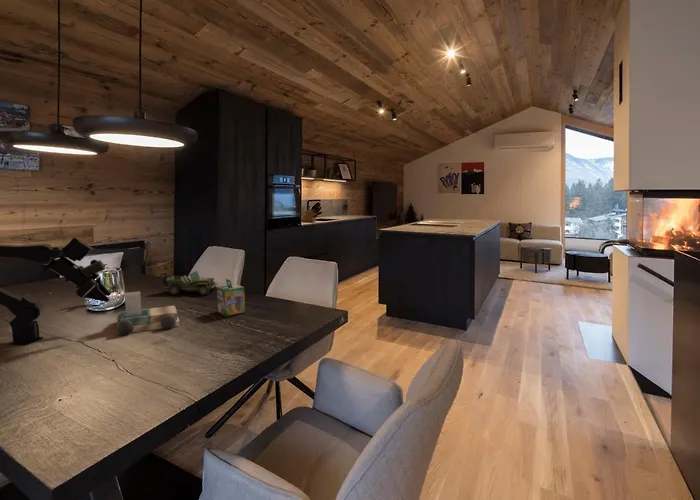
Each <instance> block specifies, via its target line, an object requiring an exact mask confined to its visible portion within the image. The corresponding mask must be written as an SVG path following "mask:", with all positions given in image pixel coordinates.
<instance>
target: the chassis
mask: <svg viewBox="0 0 700 500" xmlns="http://www.w3.org/2000/svg"><path fill="white" fill-rule="evenodd" d="M141 312H142V316H140V317H132V318H126V308H124V309H121V310H120V311H118V313H117V326H116V333H117V335H121V336H128V335H130V334H133V333H138V332H146V331H147V332H148V331H153V330H160V329H164V330H171V329H173V328H174V327H180V322H181V321H180V319H179V317H178V316H179V315H178V311H177V309H176V306H175V305H169V304H162V305H160V306H158V307H151V308H150V307H149V308H145V309H142V308H141Z"/></svg>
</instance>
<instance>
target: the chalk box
mask: <svg viewBox="0 0 700 500" xmlns="http://www.w3.org/2000/svg"><path fill="white" fill-rule="evenodd" d="M225 282H226V284H225V285H219V286H218V285H217V286H216V298H217V299H216V300H217V301H216V302H217V312H218V313H219V314H221V315H223V316H224V317H230V316H233V315H238V314H244V313H246V302H245V296H246V295H245V287H244V286H242V285H239V284H236V283H234V284H233V283H232V282H231V280H230V279H227V278H225Z"/></svg>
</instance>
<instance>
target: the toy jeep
mask: <svg viewBox="0 0 700 500" xmlns="http://www.w3.org/2000/svg"><path fill="white" fill-rule="evenodd" d="M189 277H190V278H189ZM162 283H163V285H164V289H166V290H167V289H168V292H169V294H170V295H172V296H177V295H179V294H180V293H181V291H182V290H183V291H185V290H197V292H198V293H199V295H201V296H208V294H210V290H211V291H214V290H215V289H217V286H218V283H217V282H215V278H214V277H200V275H199V273H198V270H196V271H194V272H191V273H190V274H189V275H176V276H175V275H172V276H171V275H170V274H168V273H167V274H164V275H163V277H162Z"/></svg>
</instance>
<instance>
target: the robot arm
mask: <svg viewBox="0 0 700 500" xmlns="http://www.w3.org/2000/svg"><path fill="white" fill-rule="evenodd" d="M92 251H93V248H92V246H90V245H89V244H87V243H86V242H85V241H82V240H81V239H80V238H77V237H76V236H74V237H73V238H72V239H71V240H70V241H69V242H68V243H67V244H66V245H65V246H64V247H61V246H59V247H58V246H52V245H51V244H50V243H34V244H33V243H31V244H26V245H25V244H24V245H13V244H0V258H17V259H22V260H25V261H29V262H35V263H44V264H42V268H43V269H42V272H43V273H44V274H46V273H48V271H49V270H51V271H53V272H54V273H56V274H57V275H59V276H60V277H61V278H63V279H64V281H65V282H66V283H71V284H72V285H74V286H75V288H76V290H75V293H76V296H78V297H80V298H84V299H85V298H86V299H91V300H93V299H95V300H100V301H104V302H105V303H107V302H109V301H110V298H109V297H110V296H111V294H112V293H111V292H110V291H109V289H108V290H107V289H106V288H105V287H104V286H105V285H104V284H103V283H102V281H101V276H100V274H99V272H102V271H104V270H105V269H106V266H105V265H104V263H103V262H102V260H97V259H92V260H90V264H89V265H87V266H85V267H84V266H82V265H78V264H76V263H75V262H76V261H78V262H81V261H82V260H83V259H84V258H85V257H86V256H87V255H88V254H89V253H90V252H92ZM61 254H62V255H61ZM60 255H61V256H60ZM59 256H60V257H59ZM55 257H59V258H55ZM50 259H51V260H50ZM49 260H50V261H49ZM47 261H49V262H48V263H45V262H47ZM0 305H1V306H3V307H5V308H6V309H7V310H8V311H9V312H10V313H11V314H12V315H14V317H13V318H12V319H11V321H9V325H10V328H11V334H12V341H11V340H10V341H9V342H8V345H22V346H23V345H24V346H26V345H29V344H32V343H34V342H37V341H39V340H42V339H44V336H42V335H41V336H40V327H39V324H38V320H37V319H38V318H39V317H40V315H41V314H42V312H43V311H44V308H45V307H44V304H43V302H41V301H40V298H36V297H34V296H32V295H30V294H29V293H26V294H24V296H21V295H17V294H14V293H12V292H9V291H8V290H6V289H4V288H3V287H2V288H1V287H0Z"/></svg>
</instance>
